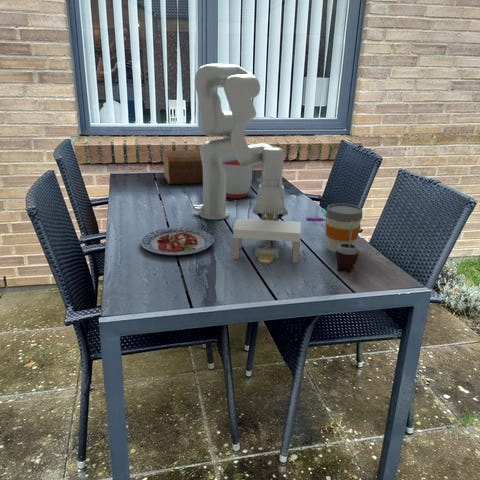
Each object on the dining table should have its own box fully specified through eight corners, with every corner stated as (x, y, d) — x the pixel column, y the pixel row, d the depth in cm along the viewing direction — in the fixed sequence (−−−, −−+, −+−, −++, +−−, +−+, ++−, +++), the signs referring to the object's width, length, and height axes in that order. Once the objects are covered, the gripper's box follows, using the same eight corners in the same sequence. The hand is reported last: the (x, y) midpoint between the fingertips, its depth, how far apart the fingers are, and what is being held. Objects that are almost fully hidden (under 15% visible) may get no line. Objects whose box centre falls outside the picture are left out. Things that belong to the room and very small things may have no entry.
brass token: (257, 263, 154) (257, 260, 154) (259, 257, 159) (259, 254, 159) (272, 264, 154) (272, 261, 153) (273, 258, 158) (273, 255, 158)
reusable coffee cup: (331, 256, 161) (336, 215, 155) (316, 243, 172) (320, 204, 166) (364, 253, 164) (370, 213, 158) (347, 240, 175) (352, 202, 170)
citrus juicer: (261, 196, 226) (262, 155, 219) (230, 201, 217) (231, 159, 209) (242, 188, 238) (243, 149, 230) (213, 193, 229) (213, 152, 221)
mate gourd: (342, 275, 148) (347, 230, 142) (328, 265, 154) (332, 222, 149) (361, 271, 150) (367, 227, 145) (347, 262, 157) (352, 219, 151)
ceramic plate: (134, 237, 174) (133, 229, 173) (200, 229, 184) (200, 221, 182) (150, 264, 152) (149, 256, 151) (224, 253, 162) (224, 245, 160)
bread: (225, 182, 249) (225, 152, 243) (169, 185, 241) (167, 154, 235) (216, 174, 266) (216, 145, 260) (163, 176, 257) (162, 147, 251)
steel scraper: (254, 257, 159) (256, 223, 155) (258, 234, 178) (259, 204, 174) (278, 258, 158) (280, 225, 154) (279, 236, 178) (281, 205, 173)
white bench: (232, 258, 157) (233, 229, 154) (236, 246, 168) (237, 218, 164) (298, 262, 155) (300, 233, 152) (298, 250, 166) (300, 222, 162)
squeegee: (301, 207, 207) (324, 207, 208) (301, 211, 208) (323, 211, 208) (314, 232, 181) (339, 232, 182) (313, 236, 182) (339, 236, 182)
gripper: (248, 183, 166) (246, 232, 172) (294, 185, 164) (291, 234, 171) (249, 178, 173) (248, 225, 179) (294, 180, 171) (291, 227, 178)
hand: (269, 229), depth 175 cm, fingers closed on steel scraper, 3 cm apart
